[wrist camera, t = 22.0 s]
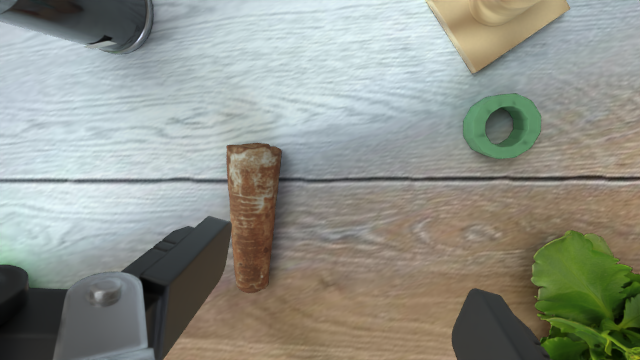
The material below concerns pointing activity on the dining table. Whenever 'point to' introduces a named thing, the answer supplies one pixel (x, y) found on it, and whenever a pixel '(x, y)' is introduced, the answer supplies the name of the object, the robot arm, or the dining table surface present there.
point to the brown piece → (252, 210)
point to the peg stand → (492, 25)
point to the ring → (523, 125)
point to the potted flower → (587, 300)
